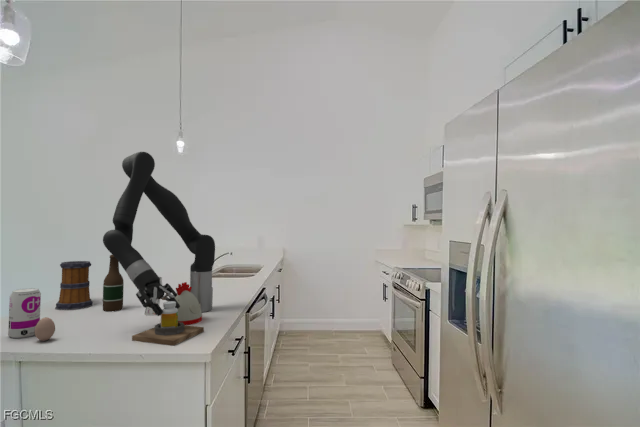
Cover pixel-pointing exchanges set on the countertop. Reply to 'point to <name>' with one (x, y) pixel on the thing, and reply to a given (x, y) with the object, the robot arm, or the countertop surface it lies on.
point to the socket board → (167, 338)
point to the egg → (44, 329)
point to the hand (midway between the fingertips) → (169, 311)
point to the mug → (74, 286)
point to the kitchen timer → (187, 305)
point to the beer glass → (149, 310)
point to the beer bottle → (113, 287)
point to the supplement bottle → (169, 315)
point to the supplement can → (24, 312)
